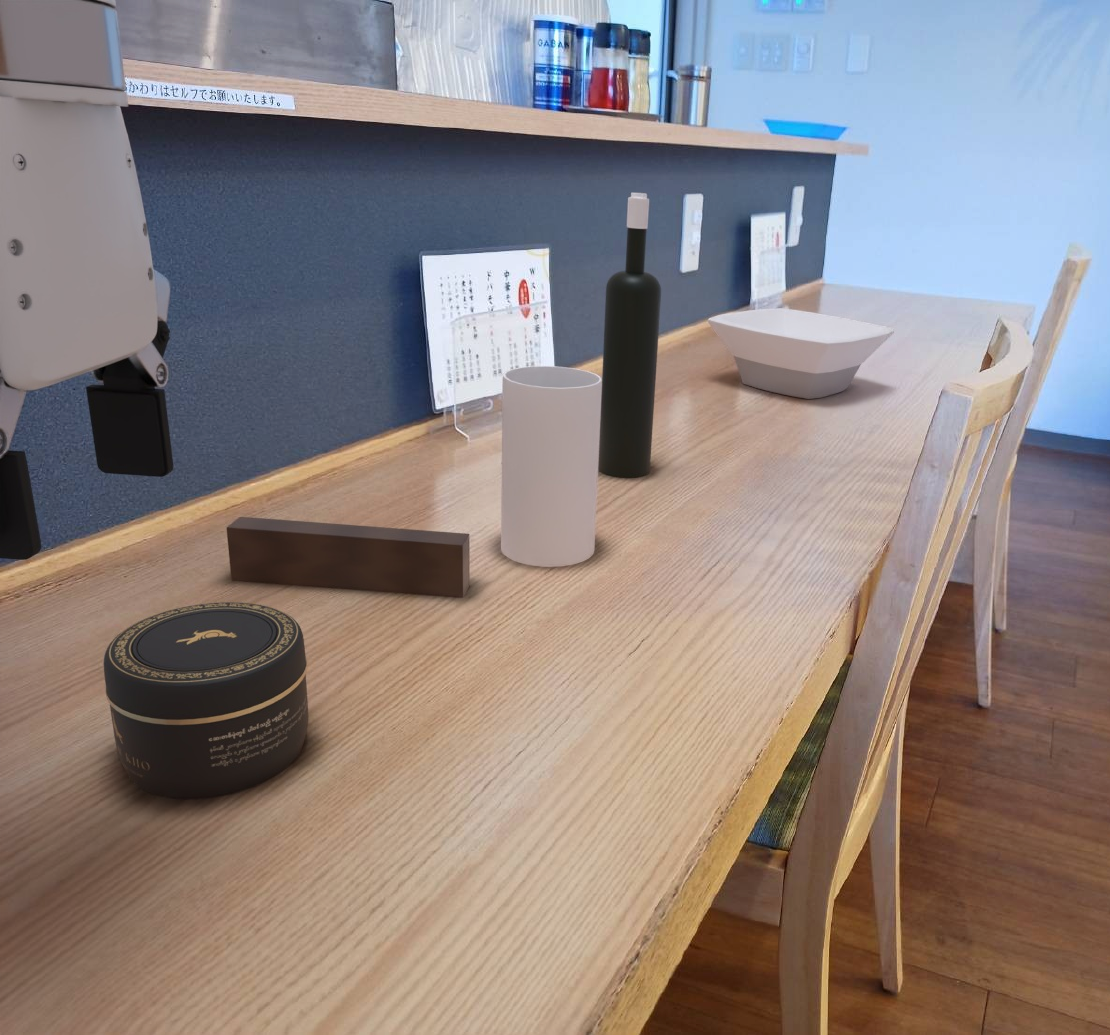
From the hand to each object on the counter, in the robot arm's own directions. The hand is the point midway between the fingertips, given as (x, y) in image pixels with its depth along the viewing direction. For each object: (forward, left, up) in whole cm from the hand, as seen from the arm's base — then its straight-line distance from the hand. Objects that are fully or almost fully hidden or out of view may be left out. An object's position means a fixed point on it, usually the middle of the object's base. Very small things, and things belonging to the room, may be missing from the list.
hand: (73, 509), depth 41 cm
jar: (0, +10, -19) cm, 21 cm away
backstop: (0, +33, -19) cm, 38 cm away
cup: (+14, +43, -19) cm, 49 cm away
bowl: (+43, +119, -19) cm, 128 cm away
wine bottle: (+19, +67, -19) cm, 72 cm away
